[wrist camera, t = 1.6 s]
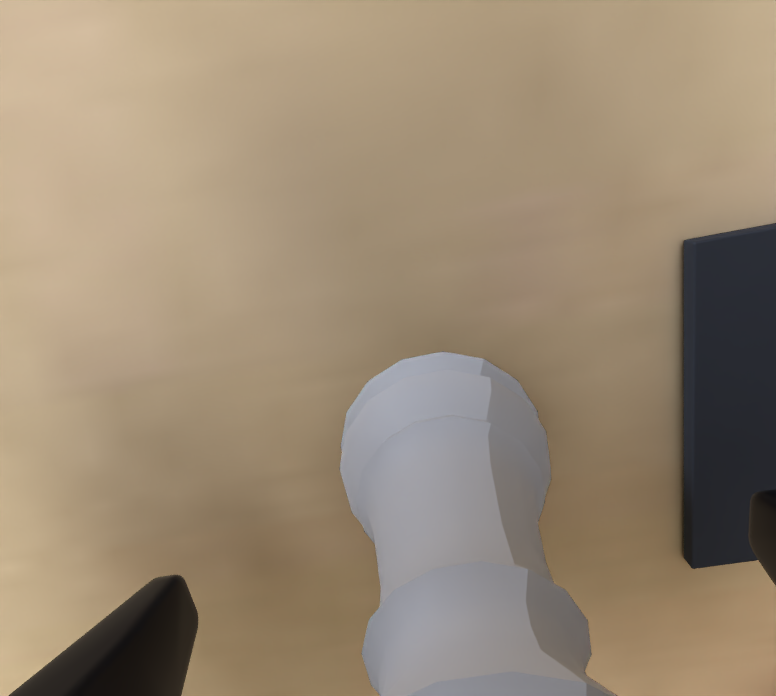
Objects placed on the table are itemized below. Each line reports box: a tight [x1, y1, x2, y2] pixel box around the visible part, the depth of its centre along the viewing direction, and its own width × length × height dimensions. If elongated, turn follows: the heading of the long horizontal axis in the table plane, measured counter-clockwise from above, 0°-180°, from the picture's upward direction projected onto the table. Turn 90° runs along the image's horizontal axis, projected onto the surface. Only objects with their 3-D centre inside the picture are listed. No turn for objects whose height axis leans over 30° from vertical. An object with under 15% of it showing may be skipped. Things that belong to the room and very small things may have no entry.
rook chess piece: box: [339, 351, 617, 696], centre depth 7 cm, size 4×4×8 cm
